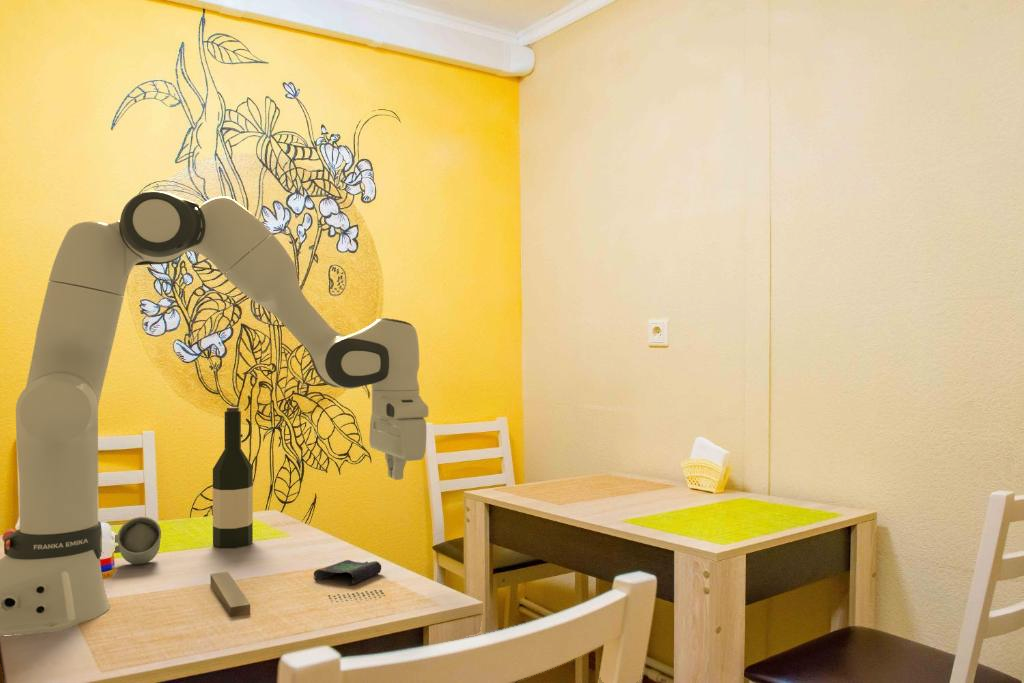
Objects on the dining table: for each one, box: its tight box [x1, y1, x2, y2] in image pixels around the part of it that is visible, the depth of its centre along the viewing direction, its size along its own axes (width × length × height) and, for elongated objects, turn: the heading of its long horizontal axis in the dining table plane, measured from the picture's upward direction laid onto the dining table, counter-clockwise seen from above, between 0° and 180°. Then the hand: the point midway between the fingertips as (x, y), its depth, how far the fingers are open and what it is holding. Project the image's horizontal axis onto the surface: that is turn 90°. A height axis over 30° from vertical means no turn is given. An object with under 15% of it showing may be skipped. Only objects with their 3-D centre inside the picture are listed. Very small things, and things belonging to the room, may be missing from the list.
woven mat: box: [327, 589, 385, 604], centre depth 133 cm, size 10×11×2 cm
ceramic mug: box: [113, 516, 162, 566], centre depth 158 cm, size 11×8×8 cm
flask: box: [313, 559, 382, 587], centre depth 148 cm, size 9×3×11 cm
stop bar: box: [210, 571, 251, 618], centre depth 135 cm, size 3×20×3 cm, turn 29°
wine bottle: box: [212, 406, 254, 549], centre depth 175 cm, size 8×8×30 cm
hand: (395, 478), depth 149 cm, fingers closed
